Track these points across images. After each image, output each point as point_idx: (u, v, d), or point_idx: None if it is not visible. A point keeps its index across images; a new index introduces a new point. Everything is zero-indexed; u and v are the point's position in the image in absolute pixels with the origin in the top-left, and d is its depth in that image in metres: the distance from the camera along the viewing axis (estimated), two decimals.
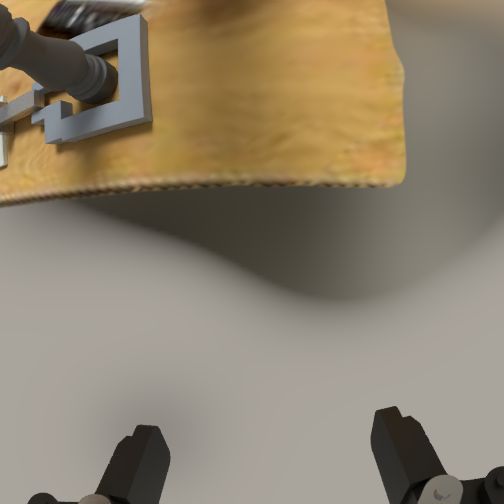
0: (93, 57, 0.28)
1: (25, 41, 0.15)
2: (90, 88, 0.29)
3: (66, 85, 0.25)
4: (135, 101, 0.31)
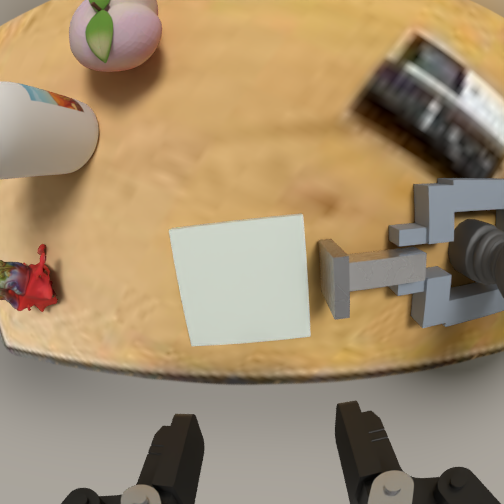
0: None
1: None
2: None
3: None
4: None
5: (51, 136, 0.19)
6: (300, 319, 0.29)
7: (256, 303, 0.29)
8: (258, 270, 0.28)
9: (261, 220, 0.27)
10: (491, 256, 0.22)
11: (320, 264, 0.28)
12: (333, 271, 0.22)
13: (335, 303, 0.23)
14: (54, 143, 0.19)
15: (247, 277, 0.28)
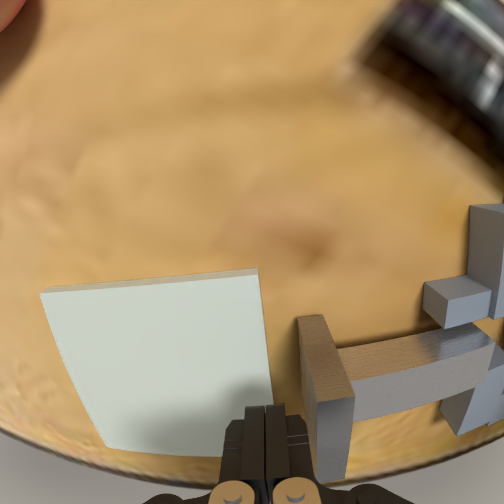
0: None
1: None
2: None
3: None
4: None
5: None
6: None
7: (185, 413, 0.15)
8: (181, 368, 0.15)
9: (176, 285, 0.14)
10: None
11: (300, 359, 0.15)
12: (316, 421, 0.09)
13: (318, 466, 0.09)
14: None
15: (164, 377, 0.15)
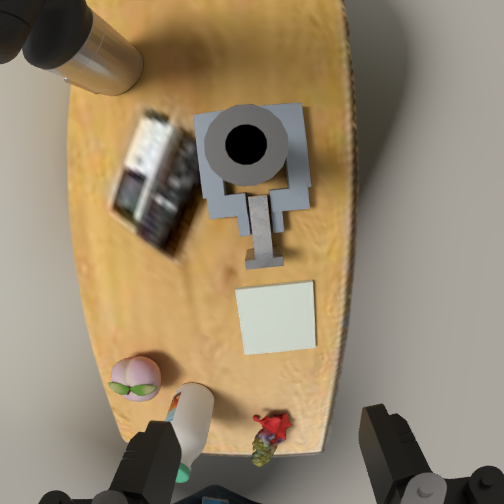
0: None
1: None
2: None
3: None
4: (286, 109, 0.39)
5: (190, 411, 0.46)
6: (300, 288, 0.48)
7: (288, 313, 0.49)
8: (267, 312, 0.49)
9: (239, 311, 0.49)
10: None
11: None
12: None
13: (273, 266, 0.41)
14: (194, 409, 0.47)
15: (271, 318, 0.49)
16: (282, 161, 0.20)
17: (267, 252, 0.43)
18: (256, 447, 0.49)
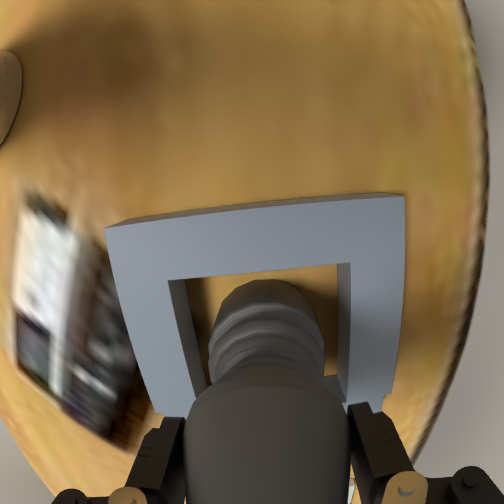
0: (225, 341, 0.13)
1: None
2: (316, 341, 0.14)
3: (346, 414, 0.09)
4: (364, 218, 0.14)
5: None
6: None
7: None
8: None
9: None
10: None
11: None
12: None
13: None
14: None
15: None
16: None
17: None
18: None
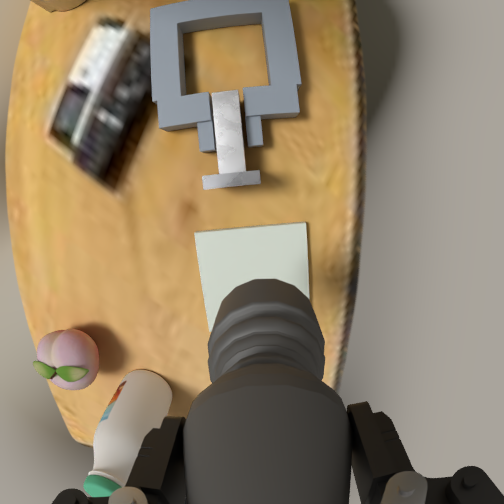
0: (225, 340, 0.13)
1: None
2: (316, 340, 0.14)
3: None
4: None
5: (133, 407, 0.31)
6: (287, 233, 0.33)
7: (270, 270, 0.34)
8: (240, 268, 0.34)
9: (199, 265, 0.34)
10: None
11: None
12: (216, 187, 0.27)
13: (244, 184, 0.26)
14: (138, 405, 0.32)
15: (246, 277, 0.34)
16: None
17: (238, 170, 0.28)
18: None
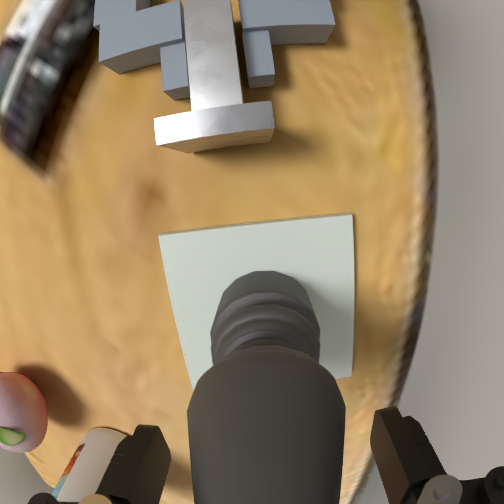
0: (227, 327, 0.15)
1: None
2: (311, 327, 0.15)
3: (339, 391, 0.11)
4: None
5: (89, 488, 0.17)
6: (320, 232, 0.18)
7: None
8: None
9: (170, 290, 0.20)
10: None
11: (223, 147, 0.18)
12: (182, 140, 0.12)
13: (241, 129, 0.12)
14: (97, 485, 0.17)
15: None
16: None
17: None
18: None
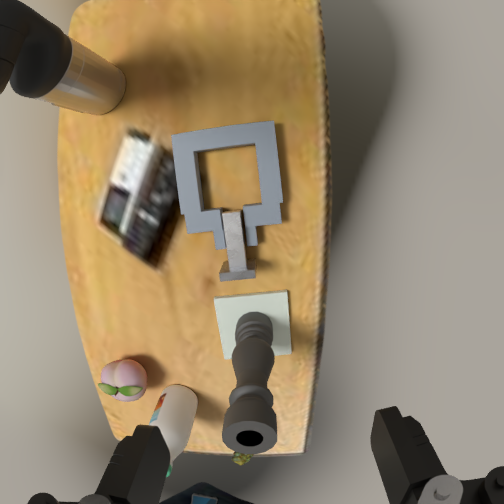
0: (241, 332, 0.46)
1: (257, 384, 0.33)
2: (268, 332, 0.47)
3: (272, 350, 0.42)
4: (258, 128, 0.42)
5: (173, 411, 0.49)
6: (274, 298, 0.50)
7: None
8: None
9: (217, 318, 0.51)
10: None
11: None
12: None
13: (245, 278, 0.44)
14: (177, 409, 0.49)
15: None
16: (272, 445, 0.28)
17: (241, 265, 0.46)
18: None
